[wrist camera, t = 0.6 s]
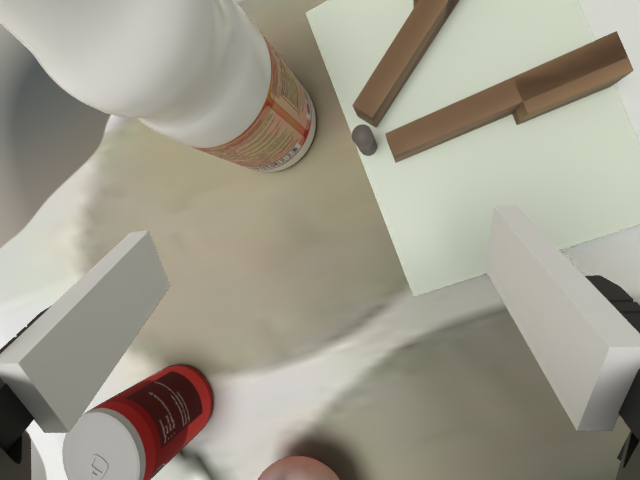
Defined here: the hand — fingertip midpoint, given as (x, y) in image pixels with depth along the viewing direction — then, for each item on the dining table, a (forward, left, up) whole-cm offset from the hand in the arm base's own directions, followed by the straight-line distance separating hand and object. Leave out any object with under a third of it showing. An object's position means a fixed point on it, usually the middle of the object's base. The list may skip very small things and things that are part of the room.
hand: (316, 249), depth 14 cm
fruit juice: (+14, +5, -21) cm, 25 cm away
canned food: (-9, +25, -21) cm, 34 cm away
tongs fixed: (+7, -12, -19) cm, 24 cm away
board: (+8, -12, -20) cm, 25 cm away
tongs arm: (+15, -10, -19) cm, 26 cm away
